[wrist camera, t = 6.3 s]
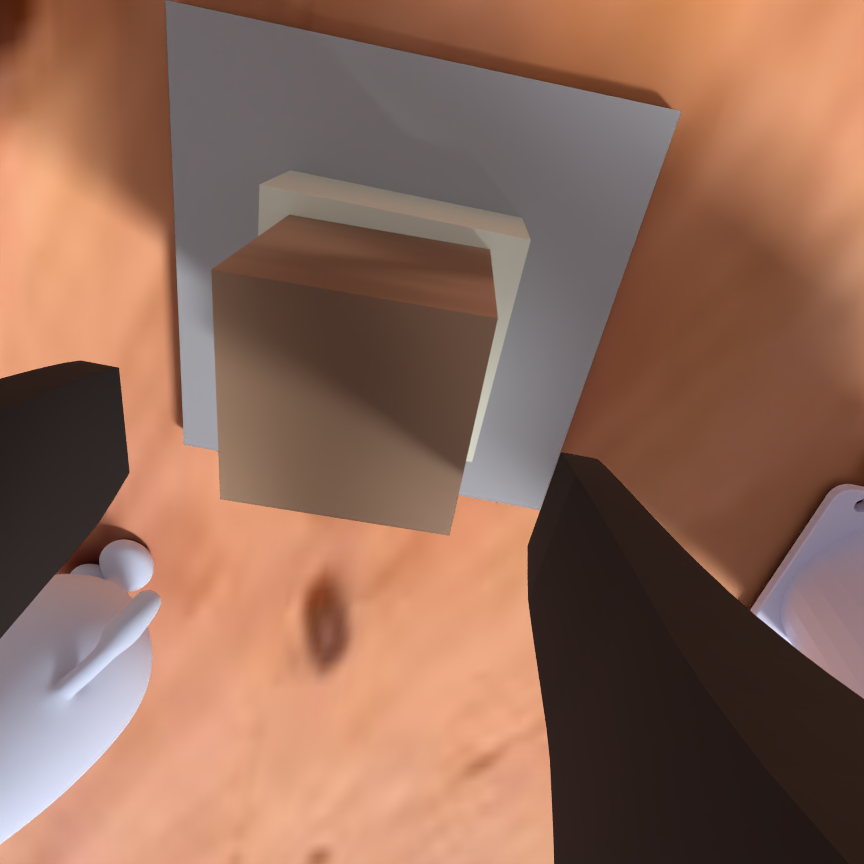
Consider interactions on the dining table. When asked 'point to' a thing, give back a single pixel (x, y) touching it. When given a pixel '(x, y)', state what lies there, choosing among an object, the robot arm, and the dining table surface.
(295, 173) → the foundation brick
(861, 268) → the dining table surface
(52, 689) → the toy figure
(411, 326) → the walnut cube
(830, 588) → the robot arm
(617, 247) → the build board
